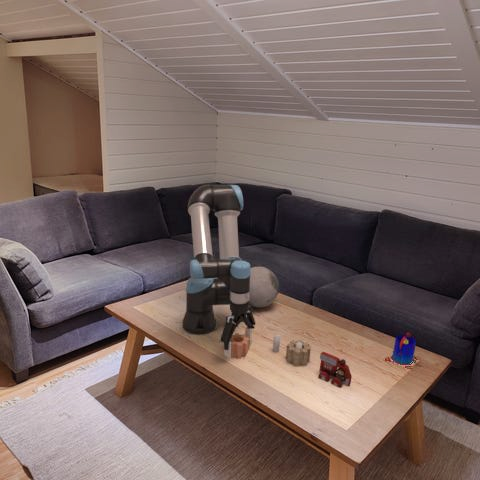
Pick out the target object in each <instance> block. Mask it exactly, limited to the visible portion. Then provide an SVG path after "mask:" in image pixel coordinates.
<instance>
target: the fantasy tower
mask: <svg viewBox="0 0 480 480" xmlns="http://www.w3.org/2000/svg"><path fill="white" fill-rule="evenodd" d="M416 344H417V341H416V339H415V338H414V337H413V336H412V334H411V333H409V332H407V333H406V334H398V335H397V336H395V340H394V347H393V350H394V351H393V350H392V354H393V355H392V354H391V355H392V356H391V355H390V356H391V357H390V356H387V357H384V358H385V360H384V361H385V362H386V361H389V362H391V363H392V361H391V360H390V358H391V359H392V360H393V362H395V363H397V364H400V365H411V364H412V363H413V362H414V361H415V360H414V359H413V358H415V359H416V360H418V358H419V357H417V356H416V357H415V355H414V354H415V351H416ZM389 357H390V358H389ZM412 361H413V362H412ZM389 362H388V363H389ZM411 362H412V363H411ZM410 363H411V364H410ZM405 368H407V369H411V366H405Z"/></svg>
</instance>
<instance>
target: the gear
mask: <svg viewBox="0 0 480 480" xmlns="http://www.w3.org/2000/svg"><path fill="white" fill-rule="evenodd" d="M297 342H301V343H302V349H296V343H297ZM311 347H312V346H310V343H309V342H304V341H303V340H300V339H298V340H296V341H295V340H294V339H293V340H290V341H289V342H287V344H286V355H285V359H286V361H287V363H288V364H292V365H293V366H295V367H299V366H302V367H305V366H307V365H308V363H310V359H311V350H312V349H311Z"/></svg>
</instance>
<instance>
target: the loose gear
mask: <svg viewBox="0 0 480 480" xmlns="http://www.w3.org/2000/svg"><path fill="white" fill-rule="evenodd" d="M230 342H231V357H230V358H236V359H237V360H238V359H240V360H241V359H242V358H243V357H245V358H246V356H247V355H248V353H249V350H250V344H249V342H250V339H249V338H246V335H245V333H244V334H240V333H239V332H237V333H235V332H234V334H233V335H232V338H231V340H230Z"/></svg>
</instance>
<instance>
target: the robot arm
mask: <svg viewBox="0 0 480 480" xmlns="http://www.w3.org/2000/svg"><path fill="white" fill-rule="evenodd" d="M243 209H244V197H243V191H242V189H241V187H240V186H239V185H238V184H237V185H236V184H230V183H228V184H204V185H201V186H199V187H198V188H196V189H195V190H194V191H193V193H192V194H191V196H190V197H189V200H188V203H187V212H188V214H189V216H190V220H191V221H190V222H191V234H192V235H191V236H192V245H193V246H192V247H193V259H192V260H190V262H189V275H190V277H189V278H188V280H187V281H186V288H185V291H186V294H185V296H186V300H185V301H186V305H185V307H186V309H185V310H186V311H185V313H184V317H183V319H182V324H181V325H182V329H183V330H184V331H185V332H187V333H188V334H192V335H207V334H209V333H211V332H214V331H215V330H216V328H217V319H216V317H215V313H214V309H213V308H214V306H224V305H225V306H226V305H227V306H228V305H229V310H230V312H231V315H230V316H226V317H225V323H224V326H223V329H222V332H221V335H220V339H219V342H221V343H223V353H224V354H223V356H225V357H227V358H232V357H231V342H230V340H231V338H232V335H234V334H235V331H236V329H237V328H238V326H239V325H240V324H241V323H244V325H245V328H244V335H246V338H249V339H250V342H249V345H251V344H252V334H253V332H252V331H253V329H255V326H256V320H255V317H254V314H253V307H252V306H249V291H250V274H251V270H250V268H251V264H250V262H248V261H247V260H242V258H241V257H240V253H239V252H240V251H239V234H238V233H239V231H238V230H239V229H238V217H239V215H240V214H241V211H242V210H243ZM210 211H213V212H214V216H215V217H216V218H217V223H218V224H217V225H218V244H219V249H218V250H219V258H216V259H215V258H214V255H213V247H212V237H211V228H210V217H209V214H210Z"/></svg>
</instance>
